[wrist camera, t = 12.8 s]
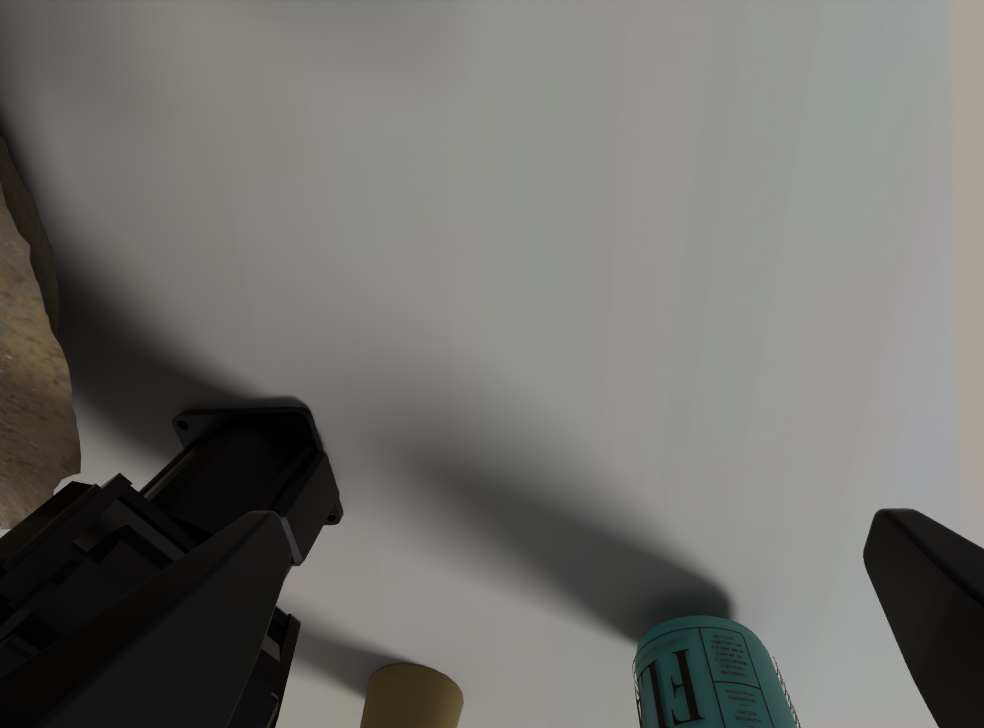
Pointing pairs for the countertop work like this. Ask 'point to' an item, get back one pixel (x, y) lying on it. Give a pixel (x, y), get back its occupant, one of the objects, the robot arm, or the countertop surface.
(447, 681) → the cork
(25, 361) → the stone bowl
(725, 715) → the beverage bottle
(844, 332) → the countertop surface
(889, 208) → the countertop surface
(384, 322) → the countertop surface
